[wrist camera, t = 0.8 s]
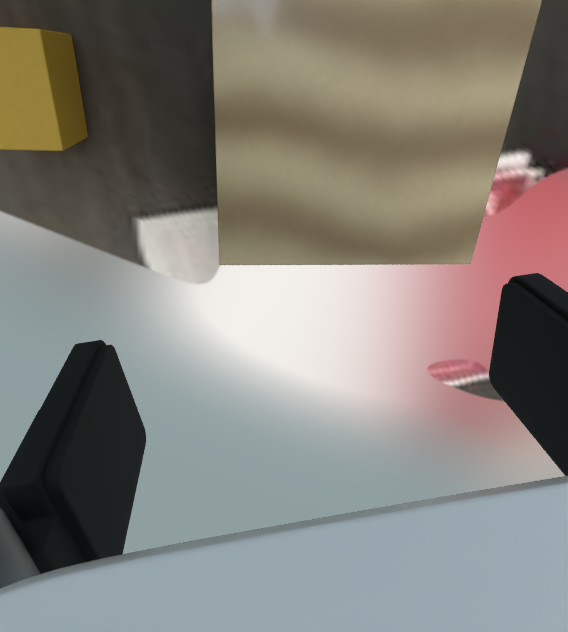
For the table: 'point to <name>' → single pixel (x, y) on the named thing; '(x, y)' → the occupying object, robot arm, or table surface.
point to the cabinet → (361, 126)
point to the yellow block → (39, 91)
